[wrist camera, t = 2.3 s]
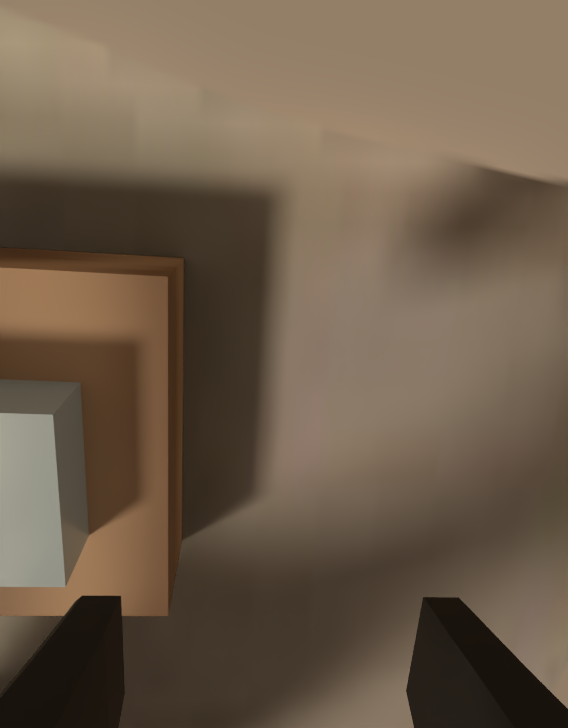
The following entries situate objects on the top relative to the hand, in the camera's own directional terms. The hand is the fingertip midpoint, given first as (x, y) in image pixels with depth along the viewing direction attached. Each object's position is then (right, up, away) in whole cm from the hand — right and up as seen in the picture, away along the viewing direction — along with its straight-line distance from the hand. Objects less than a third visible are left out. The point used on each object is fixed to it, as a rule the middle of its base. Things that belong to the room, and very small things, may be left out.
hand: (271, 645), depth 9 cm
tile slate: (-7, +2, +5) cm, 9 cm away
